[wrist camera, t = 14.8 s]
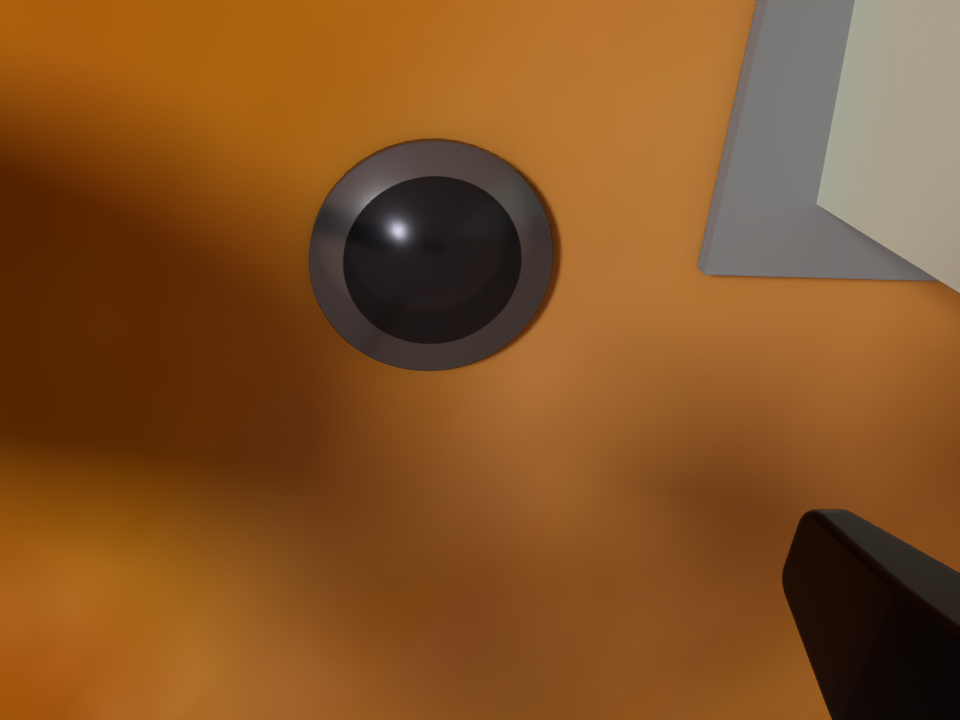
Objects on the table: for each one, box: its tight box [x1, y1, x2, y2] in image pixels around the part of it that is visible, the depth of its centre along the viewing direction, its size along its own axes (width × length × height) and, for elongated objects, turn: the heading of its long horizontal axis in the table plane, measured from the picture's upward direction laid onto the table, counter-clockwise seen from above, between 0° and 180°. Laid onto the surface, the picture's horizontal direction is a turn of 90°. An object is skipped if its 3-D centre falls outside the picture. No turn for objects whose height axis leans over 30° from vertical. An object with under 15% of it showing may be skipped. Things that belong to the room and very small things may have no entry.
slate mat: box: [697, 0, 939, 281], centre depth 20 cm, size 10×10×1 cm
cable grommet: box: [309, 139, 553, 371], centre depth 20 cm, size 6×6×1 cm
